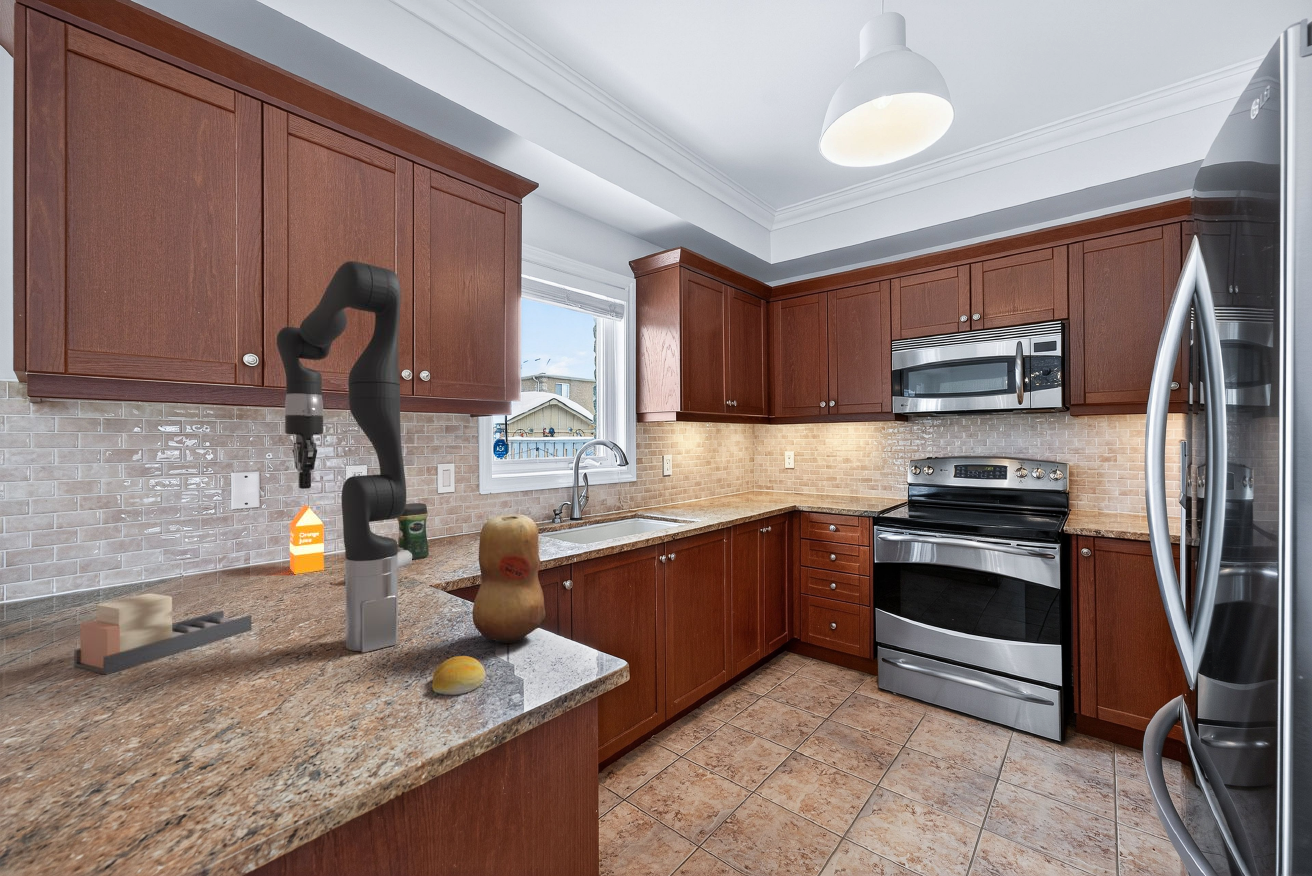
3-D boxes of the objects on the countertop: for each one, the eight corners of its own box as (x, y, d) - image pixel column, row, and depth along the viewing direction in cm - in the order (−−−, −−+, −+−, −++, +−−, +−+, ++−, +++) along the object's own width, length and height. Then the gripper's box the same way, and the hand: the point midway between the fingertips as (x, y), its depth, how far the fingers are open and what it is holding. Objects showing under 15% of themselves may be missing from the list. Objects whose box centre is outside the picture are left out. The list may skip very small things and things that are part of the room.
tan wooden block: (150, 634, 108) (150, 593, 108) (172, 638, 106) (172, 596, 106) (96, 648, 101) (96, 604, 101) (119, 654, 98) (118, 608, 98)
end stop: (93, 659, 101) (92, 620, 101) (119, 665, 98) (119, 626, 98) (80, 662, 99) (80, 623, 99) (107, 669, 96) (107, 629, 96)
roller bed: (221, 624, 121) (221, 610, 121) (251, 629, 118) (251, 615, 118) (74, 666, 99) (74, 649, 99) (106, 675, 95) (105, 657, 95)
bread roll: (432, 701, 86) (431, 675, 86) (433, 678, 94) (433, 654, 94) (487, 692, 89) (487, 667, 89) (484, 670, 97) (483, 647, 97)
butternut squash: (476, 658, 101) (475, 522, 101) (469, 635, 114) (469, 513, 114) (551, 646, 107) (550, 517, 107) (537, 625, 119) (536, 509, 119)
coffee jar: (422, 554, 194) (422, 501, 194) (431, 557, 188) (431, 503, 188) (393, 558, 188) (393, 503, 188) (401, 562, 182) (401, 505, 182)
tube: (359, 572, 152) (414, 553, 177) (342, 565, 153) (400, 547, 178) (353, 590, 153) (410, 568, 177) (337, 583, 154) (395, 562, 178)
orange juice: (294, 575, 165) (293, 508, 165) (289, 570, 172) (289, 505, 172) (324, 571, 170) (324, 505, 170) (318, 566, 177) (318, 503, 177)
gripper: (279, 414, 131) (280, 487, 131) (291, 412, 122) (292, 491, 122) (315, 415, 137) (316, 485, 137) (330, 413, 127) (330, 489, 127)
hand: (304, 488), depth 129 cm, fingers closed
